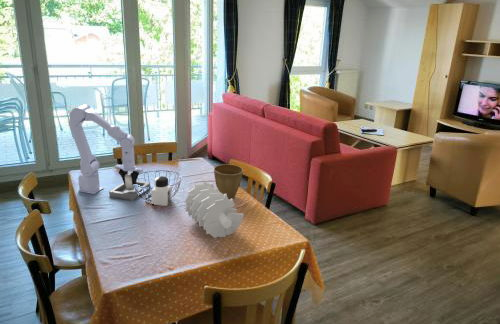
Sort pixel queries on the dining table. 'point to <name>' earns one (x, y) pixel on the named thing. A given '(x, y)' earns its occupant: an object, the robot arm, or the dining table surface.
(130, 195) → the tray
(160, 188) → the container
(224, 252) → the dining table surface
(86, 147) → the robot arm
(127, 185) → the shaker
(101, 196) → the dining table surface
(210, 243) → the dining table surface
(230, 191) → the plant pot
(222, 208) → the spiral staircase
